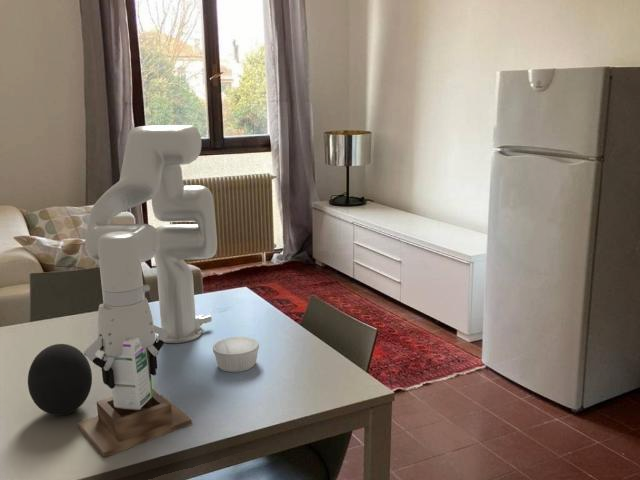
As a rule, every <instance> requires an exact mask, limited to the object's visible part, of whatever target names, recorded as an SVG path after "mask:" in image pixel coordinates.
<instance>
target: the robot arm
mask: <svg viewBox="0 0 640 480" xmlns="http://www.w3.org/2000/svg"><path fill="white" fill-rule="evenodd" d="M201 151H202V137H201V134H200V132H199V130H198V128H197V127H196V126H194V125H186V124H184V125H182V124H181V125H180V124H179V125H176V124H175V125H161V124H160V125H159V124H158V125H142V126H136V127H133V128H131V129H130V131H129V132H128V134H127V139H126V143H125V148H124V155H123V160H122V165H121V171H120V174H119V175H120V176H119V181H117V182H116V183H115V184H113V185H112V186H111V187H110V188H109V189H107V190H106V191H105V192H104V193H103V194H102V195H101V196H100V197H99V198H98V199H97V201H96V202H95V203H94V204H93V206H92V208H91V209H90V213H89V217H88V223H87V226H86V231H85V239H84V246H85V252H86V253H87V255H88V257H89V258H91V259H92V260H94V261H96V262H98V264H99V272H100V273H99V274H100V280H101V281H100V282H101V283H100V284H101V291H102V301H103V302H102V303H100V304H99V305H98V310H97V311H98V312H97V339H95V341H94V342H93V343H91V344H90V345H89V346H88V348H86V349H85V351H84V352H83V354H84V356H85V357H86V358H87V359H88V360H89V361H91V362H92V363H93V364H94V365H95V366H96V367H99V368H101V375H102V377H101V378H102V382H103V384H104V385H106V386H107V387H108V388H110V390H112V388H114V387H115V383H114V373H113V369H112V368H111V365H112V363H113V361H114V358H115V357H117V356H120V355H122V352H123V342H124V340H128V339H133V338H139V340H140V344H141V346H142V349H145V348H147V349H148V351H149V360H150V370H151V376H153V377H154V376H156V375H157V369H158V357H157V356H158V355H159V353H160V352H159V351H160V350H161V349H162V347H163V346H164V344H165V343H166V344H181V343H186V342H191V341H194V340H196V339H198V338H199V337H200V336H201V335H202V334H203V328H202V327H201V326H203V324H208V323H211V322H212V321H213V320H212V316H211V315H210V314H209V315H207V316H206V315H205V316H204V315H203V314H199V315H196V304H195V303H196V301H195V291H194V290H195V288H194V287H195V286H194V276H193V271H192V269H191V268H190V266H189V265H188V264H187V263H186V261H185V260H206V259H211V258H214V256H215V255H216V254H217V250H218V236H217V225H216V224H217V223H216V222H217V221H216V213H215V211H216V210H215V202H214V196H213V193H212V192H211V190H210V189H209V188H208V187H207V186H204V185H186V184H184V179H183V171H182V166H183V165H189V164H192V163H193V162H194V161H196V160H197V159H198V157H199V156H200V155H201ZM181 165H182V166H181ZM149 201H151V206H152V212H153V215H154V217H155V218H156V219H157V221H160V222H163V223H165V222H167V223H174V224H164V225H159V226H158V227H155V226H153V225H150V224H148V223H111V222H112V220H113V219H114V218H115V217H117V216H118V215H120V214H121V213H123V212H126V211H127V210H129V209H132V208H134V207H137V206H139V205H141V204H144V203H147V202H149ZM182 222H183V224H182ZM184 222H187V223H188V222H191V223H193V222H194V223H193V224H190V223H188V224H185V223H184ZM175 223H178V224H175ZM179 223H180V224H179ZM153 258H154V262H155V266H156V267H155V268H156V278H157V291H158V302H159V313H160V314H159V315H160V326H161V327H159V326H157V325H155V324H154V319H153V315H152V311H151V307H150V304H149V300H148V298H147V297H146V293H148V292H150V291H151V286H150V285H149V284H143V282H144V281H143V272H142V271H143V270H142V263H144V262H147V261H150V260H152V259H153ZM98 351H100V352H103V353H102V355H101V357H99V356H97V355H96V353H97V352H98Z"/></svg>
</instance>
